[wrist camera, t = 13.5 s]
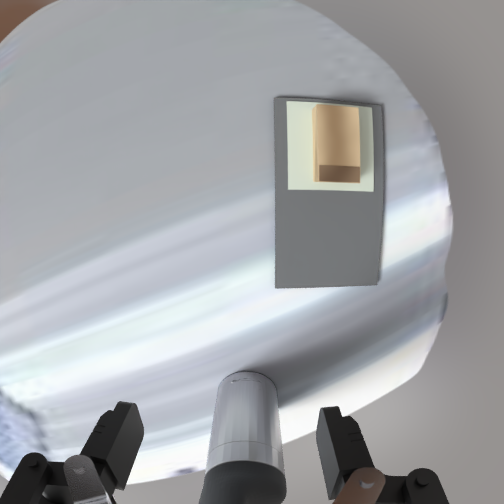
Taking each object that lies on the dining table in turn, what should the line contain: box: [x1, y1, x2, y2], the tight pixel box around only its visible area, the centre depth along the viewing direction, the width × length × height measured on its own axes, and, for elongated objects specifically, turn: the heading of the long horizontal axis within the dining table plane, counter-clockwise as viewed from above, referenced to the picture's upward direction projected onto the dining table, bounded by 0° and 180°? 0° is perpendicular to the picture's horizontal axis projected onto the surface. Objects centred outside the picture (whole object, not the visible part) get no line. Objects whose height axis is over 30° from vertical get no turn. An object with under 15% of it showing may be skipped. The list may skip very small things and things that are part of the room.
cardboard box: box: [312, 104, 360, 183], centre depth 33 cm, size 5×9×3 cm, turn 1°
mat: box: [274, 98, 384, 288], centre depth 37 cm, size 24×14×1 cm, turn 1°
